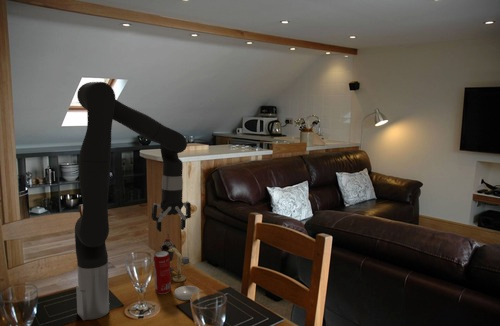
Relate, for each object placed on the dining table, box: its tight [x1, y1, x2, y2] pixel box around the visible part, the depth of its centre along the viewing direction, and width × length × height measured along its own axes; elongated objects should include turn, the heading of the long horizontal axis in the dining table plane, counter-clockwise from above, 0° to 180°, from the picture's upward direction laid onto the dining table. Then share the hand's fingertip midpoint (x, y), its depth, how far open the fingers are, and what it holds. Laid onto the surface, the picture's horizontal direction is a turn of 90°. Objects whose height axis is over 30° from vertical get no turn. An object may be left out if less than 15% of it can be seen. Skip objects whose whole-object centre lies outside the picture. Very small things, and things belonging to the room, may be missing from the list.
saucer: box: [174, 285, 200, 301], centre depth 145 cm, size 9×9×1 cm
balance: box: [169, 247, 191, 283], centre depth 156 cm, size 5×13×12 cm, turn 41°
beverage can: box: [153, 250, 172, 295], centre depth 146 cm, size 6×6×15 cm
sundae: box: [159, 233, 177, 273], centre depth 165 cm, size 7×7×15 cm
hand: (171, 230), depth 146 cm, fingers open, 8 cm apart
